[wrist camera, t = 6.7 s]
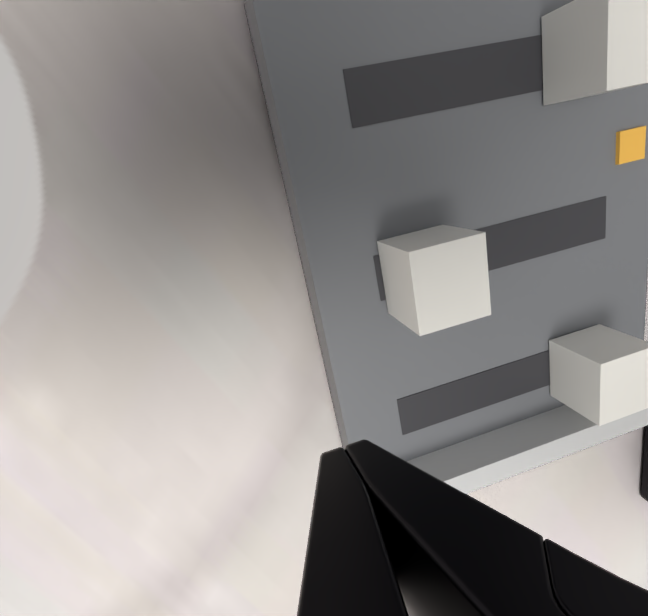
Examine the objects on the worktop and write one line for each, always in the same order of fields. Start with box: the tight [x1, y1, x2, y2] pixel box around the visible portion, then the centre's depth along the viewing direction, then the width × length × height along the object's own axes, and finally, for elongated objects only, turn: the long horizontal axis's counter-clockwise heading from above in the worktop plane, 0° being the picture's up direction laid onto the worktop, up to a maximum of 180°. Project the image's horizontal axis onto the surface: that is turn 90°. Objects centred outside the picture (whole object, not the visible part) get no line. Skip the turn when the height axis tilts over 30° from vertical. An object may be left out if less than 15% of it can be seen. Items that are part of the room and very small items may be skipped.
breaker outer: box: [541, 0, 648, 106], centre depth 16 cm, size 3×3×3 cm
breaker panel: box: [244, 0, 648, 494], centre depth 19 cm, size 22×17×4 cm
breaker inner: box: [549, 324, 648, 426], centre depth 20 cm, size 3×3×3 cm
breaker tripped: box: [377, 225, 491, 336], centre depth 17 cm, size 3×3×3 cm
